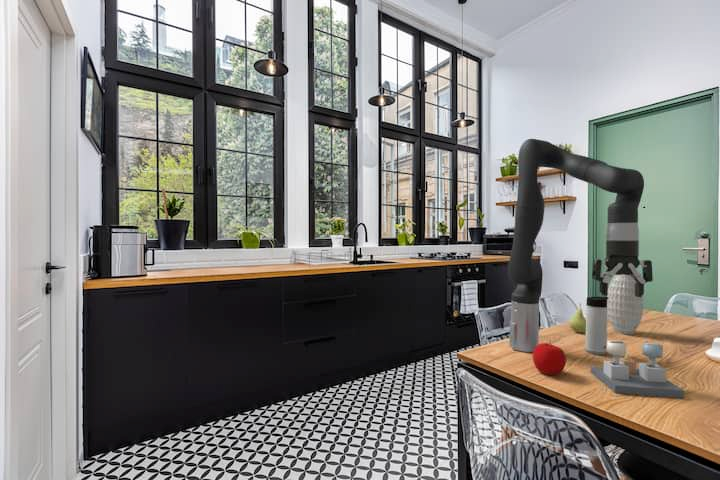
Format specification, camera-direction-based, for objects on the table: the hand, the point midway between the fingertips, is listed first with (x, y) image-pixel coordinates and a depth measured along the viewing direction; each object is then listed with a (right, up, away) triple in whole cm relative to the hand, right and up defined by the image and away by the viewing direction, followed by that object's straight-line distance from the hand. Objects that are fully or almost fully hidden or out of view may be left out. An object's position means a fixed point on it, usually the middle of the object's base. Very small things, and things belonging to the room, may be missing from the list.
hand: (621, 296), depth 102 cm
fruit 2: (+20, -24, +52) cm, 61 cm away
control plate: (+2, -25, -2) cm, 25 cm away
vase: (+39, -24, +52) cm, 69 cm away
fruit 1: (-17, -25, +7) cm, 31 cm away
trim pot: (+4, -22, +3) cm, 23 cm away
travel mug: (+10, -24, +25) cm, 37 cm away
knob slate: (+7, -19, -2) cm, 21 cm away
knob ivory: (-2, -19, -1) cm, 19 cm away
